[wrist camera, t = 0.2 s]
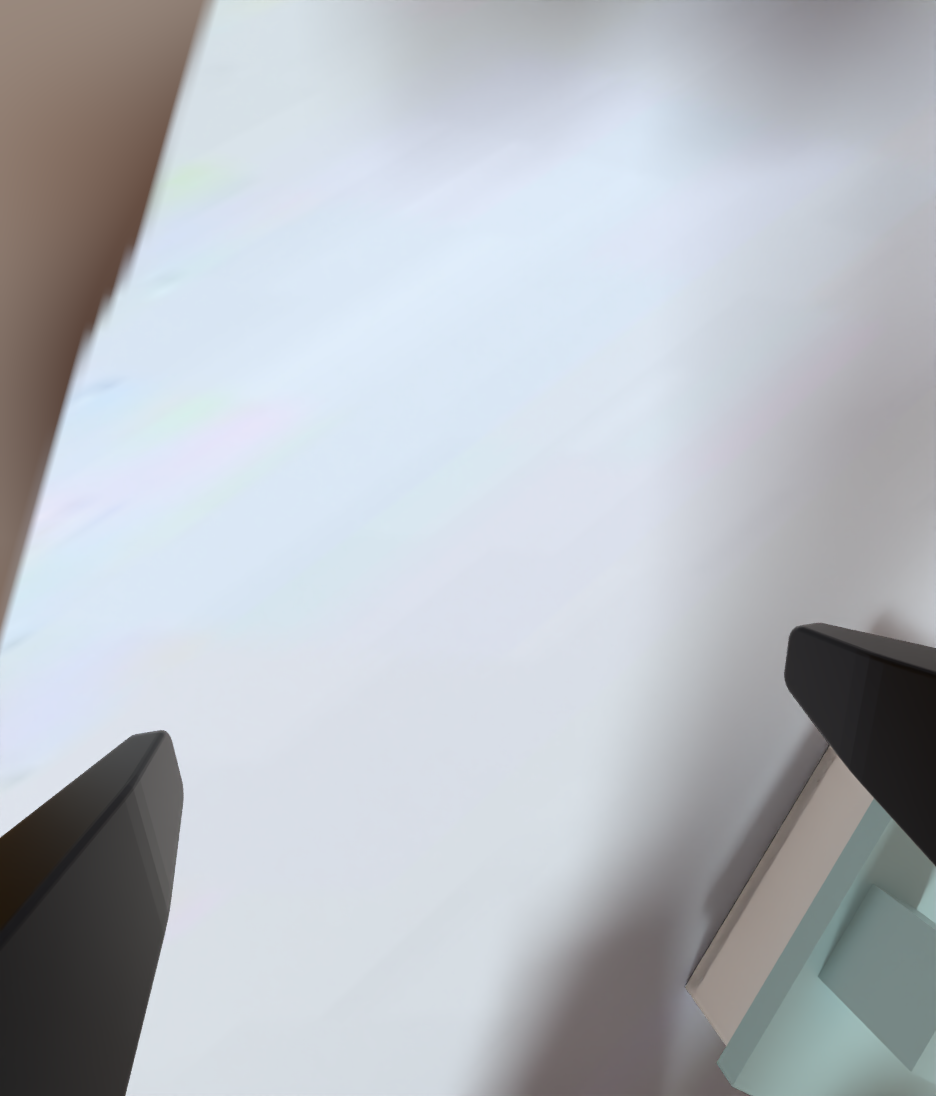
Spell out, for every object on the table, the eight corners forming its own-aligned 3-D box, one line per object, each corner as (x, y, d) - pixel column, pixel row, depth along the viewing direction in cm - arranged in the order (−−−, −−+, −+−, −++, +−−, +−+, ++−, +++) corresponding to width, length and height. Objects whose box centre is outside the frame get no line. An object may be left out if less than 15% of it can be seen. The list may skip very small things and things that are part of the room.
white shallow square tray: (875, 1081, 31) (942, 1155, 27) (684, 986, 28) (733, 1056, 25) (1013, 846, 31) (1096, 890, 28) (837, 731, 28) (905, 765, 25)
